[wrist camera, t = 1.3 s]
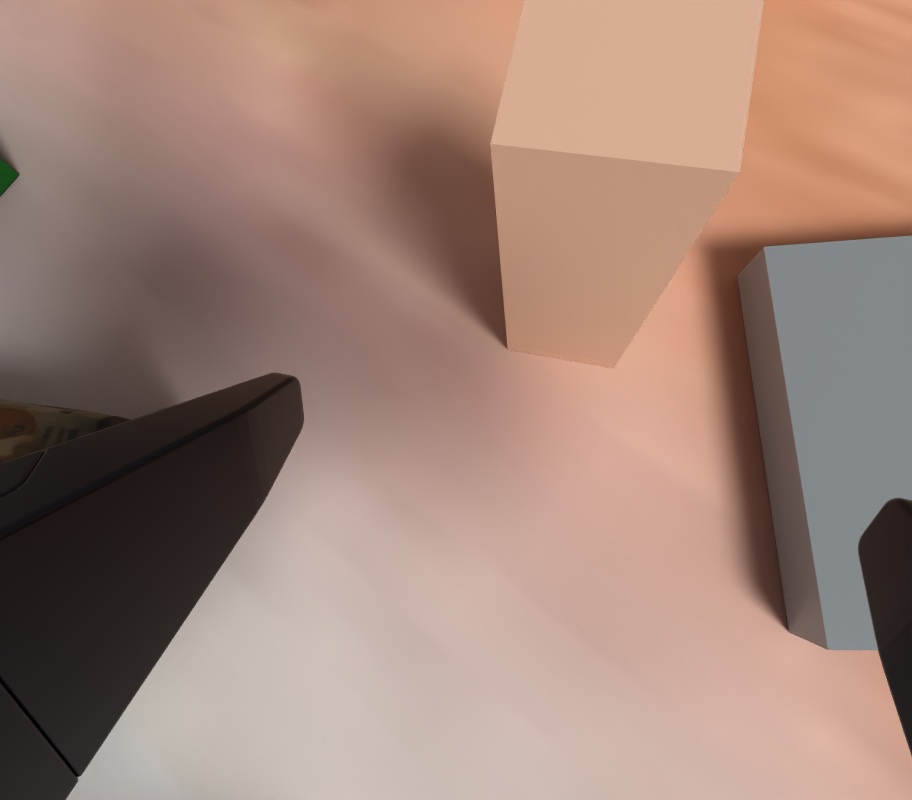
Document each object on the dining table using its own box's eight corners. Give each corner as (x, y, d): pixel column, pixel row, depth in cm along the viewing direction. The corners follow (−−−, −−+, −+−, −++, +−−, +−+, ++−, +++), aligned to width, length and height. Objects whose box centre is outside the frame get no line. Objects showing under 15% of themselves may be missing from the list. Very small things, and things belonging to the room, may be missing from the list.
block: (613, 368, 22) (739, 172, 9) (507, 349, 23) (490, 143, 10) (630, 269, 23) (768, -35, 10) (527, 254, 23) (535, -47, 11)
